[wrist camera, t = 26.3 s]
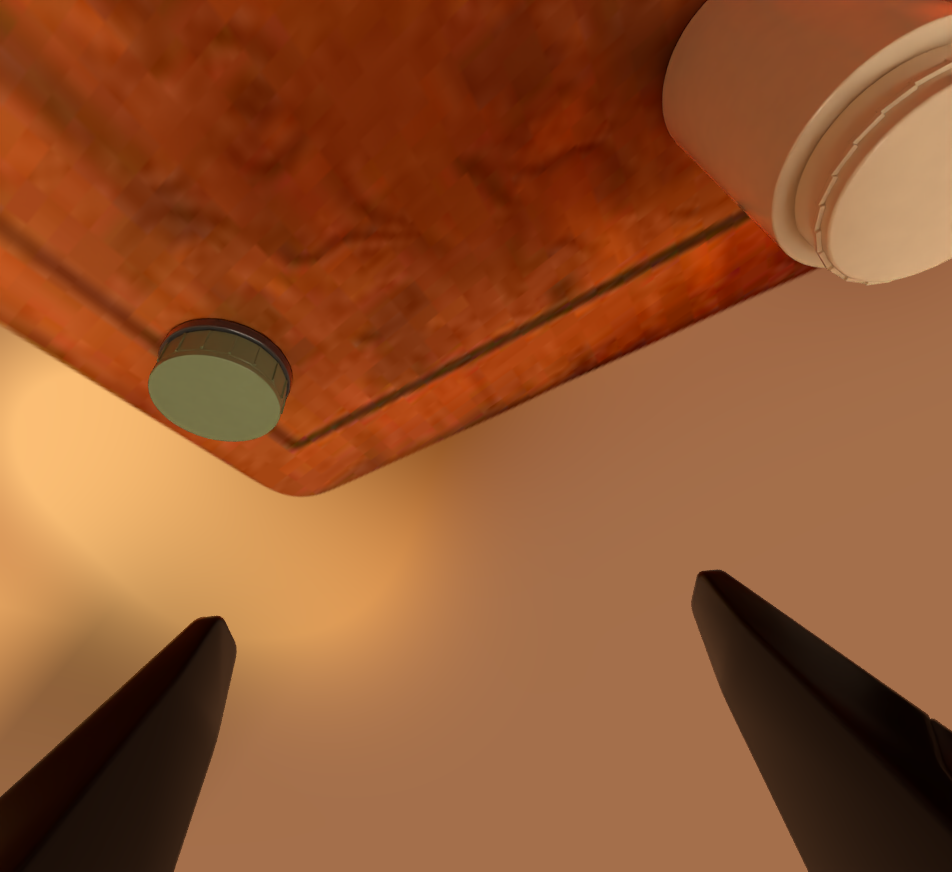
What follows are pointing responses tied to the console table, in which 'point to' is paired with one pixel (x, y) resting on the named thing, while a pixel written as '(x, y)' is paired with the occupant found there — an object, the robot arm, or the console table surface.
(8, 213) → the console table surface
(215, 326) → the coaster
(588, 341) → the console table surface
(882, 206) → the jar
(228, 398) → the lid
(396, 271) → the console table surface
